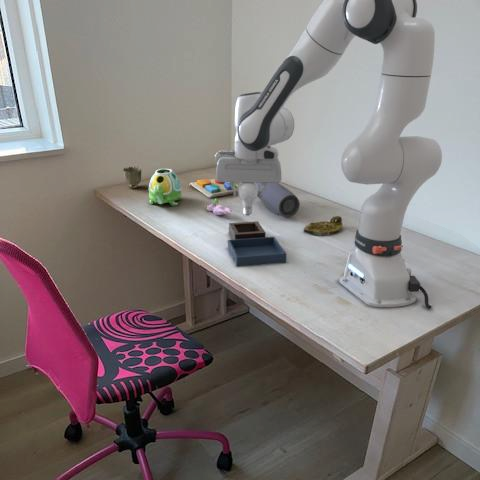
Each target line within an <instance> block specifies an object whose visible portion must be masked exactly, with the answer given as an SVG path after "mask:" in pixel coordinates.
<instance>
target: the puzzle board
mask: <svg viewBox="0 0 480 480" xmlns="http://www.w3.org/2000/svg"><path fill="white" fill-rule="evenodd" d="M188 185H189V186H190V187H192V188H194V189H196V190H197V191H198V192H200V193H202V195H204V196H205V197H207V198H208V199H212V198H217V197H222V196H228V195H234V191H233V190H232V188H231V186H230V182H218V181H217V180H216V177H215V178H212V179H207V178H204V179H203V178H202V179H197V180H196V181H194V182H189V184H188ZM239 186H240V184H237V182H235V185H234V187H235V189H238V188H239Z"/></svg>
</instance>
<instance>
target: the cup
mask: <svg viewBox="0 0 480 480" xmlns="http://www.w3.org/2000/svg"><path fill="white" fill-rule="evenodd" d="M122 171H123V177H124V181H125V183H126V184H128V187H129V189H131V190H135V189H138V188H139V184H140V183H141V181H142V168H141V167H139V166H137V167H136V166H127V167H123V169H122Z"/></svg>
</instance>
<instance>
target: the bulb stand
mask: <svg viewBox="0 0 480 480" xmlns="http://www.w3.org/2000/svg"><path fill="white" fill-rule="evenodd" d="M228 235H229V237H230V240H234V239H248V238H262V237H266V231H265V229H264V228H263V226H262V225H261V224H260V222H259V221H257V220H256V221H241V222H240V221H239V222H229V223H228Z"/></svg>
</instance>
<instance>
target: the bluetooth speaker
mask: <svg viewBox="0 0 480 480" xmlns="http://www.w3.org/2000/svg"><path fill="white" fill-rule="evenodd" d="M255 184H256V185H257V187H258V190H261V188H262V187H263V186H262V183H255ZM256 198H258V199H259V200H260V201H261V202H262V203H263V204H264V206H266V207H267V209H269V211H271V212H272V213H274V214H275V215H277V216H281V217H284V218H291V217H293V216H295V215H296V214H297V213H298V211H299V209H300V206H301V205H300V200H299V198H298V197H297V196H296V194H295V193H293V192H292V191H291V190H289V189H288V188H287V187H285V186H284V185H282V184H281V183H280V182H279V183H267V186H266V188H265V190H264V191H263V197H258V195H257V197H256Z"/></svg>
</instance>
